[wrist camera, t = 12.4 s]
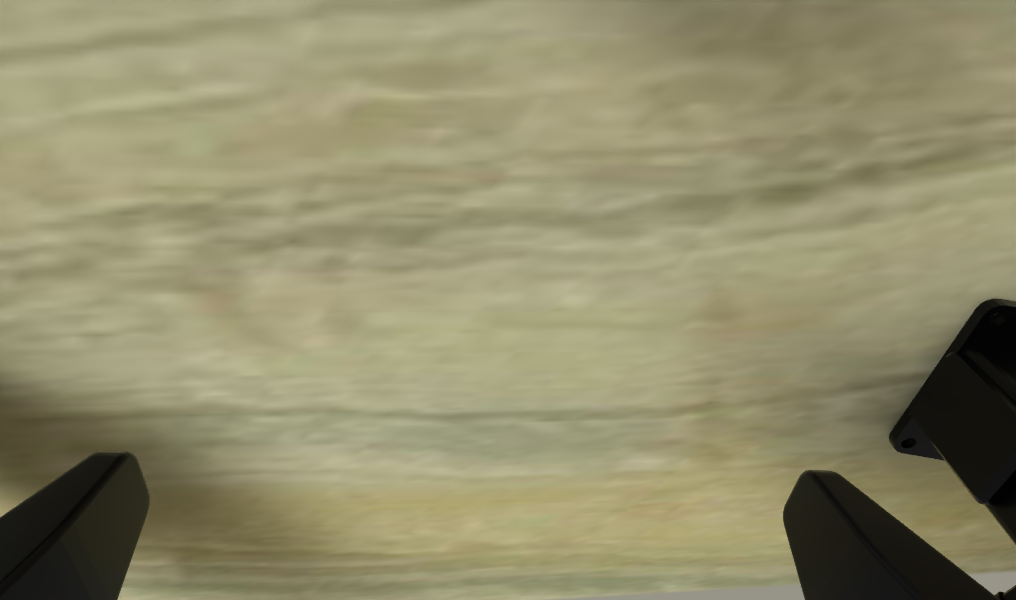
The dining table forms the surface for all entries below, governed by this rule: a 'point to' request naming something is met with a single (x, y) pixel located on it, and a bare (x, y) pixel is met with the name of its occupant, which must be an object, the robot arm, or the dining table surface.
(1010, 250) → the dining table surface
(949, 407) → the robot arm
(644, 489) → the dining table surface
